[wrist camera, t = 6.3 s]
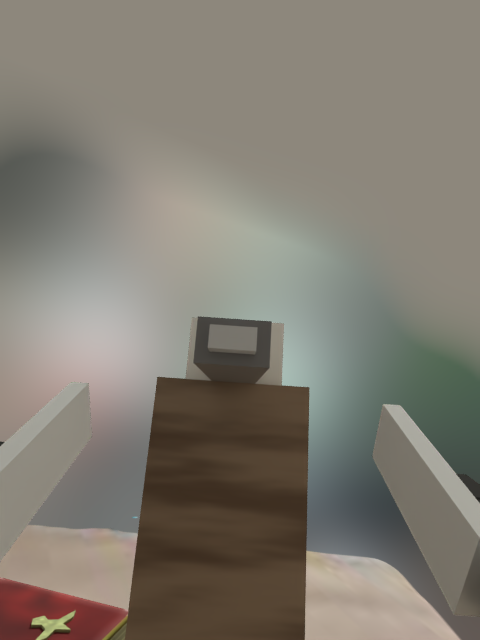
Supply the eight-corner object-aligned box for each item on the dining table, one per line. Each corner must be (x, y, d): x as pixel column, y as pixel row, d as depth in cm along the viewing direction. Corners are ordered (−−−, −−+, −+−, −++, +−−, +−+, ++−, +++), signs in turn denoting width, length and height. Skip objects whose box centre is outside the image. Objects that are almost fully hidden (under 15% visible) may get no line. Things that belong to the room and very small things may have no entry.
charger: (322, 368, 17) (324, 255, 18) (139, 356, 17) (155, 244, 18) (271, 389, 41) (273, 340, 42) (196, 384, 41) (201, 335, 42)
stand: (301, 818, 24) (309, 387, 31) (104, 803, 24) (157, 376, 31) (282, 699, 34) (292, 391, 41) (142, 689, 34) (176, 383, 41)
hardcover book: (-8, 608, 45) (0, 572, 46) (131, 649, 40) (136, 607, 41) (-119, 673, 34) (-106, 623, 35) (52, 741, 29) (62, 680, 30)
